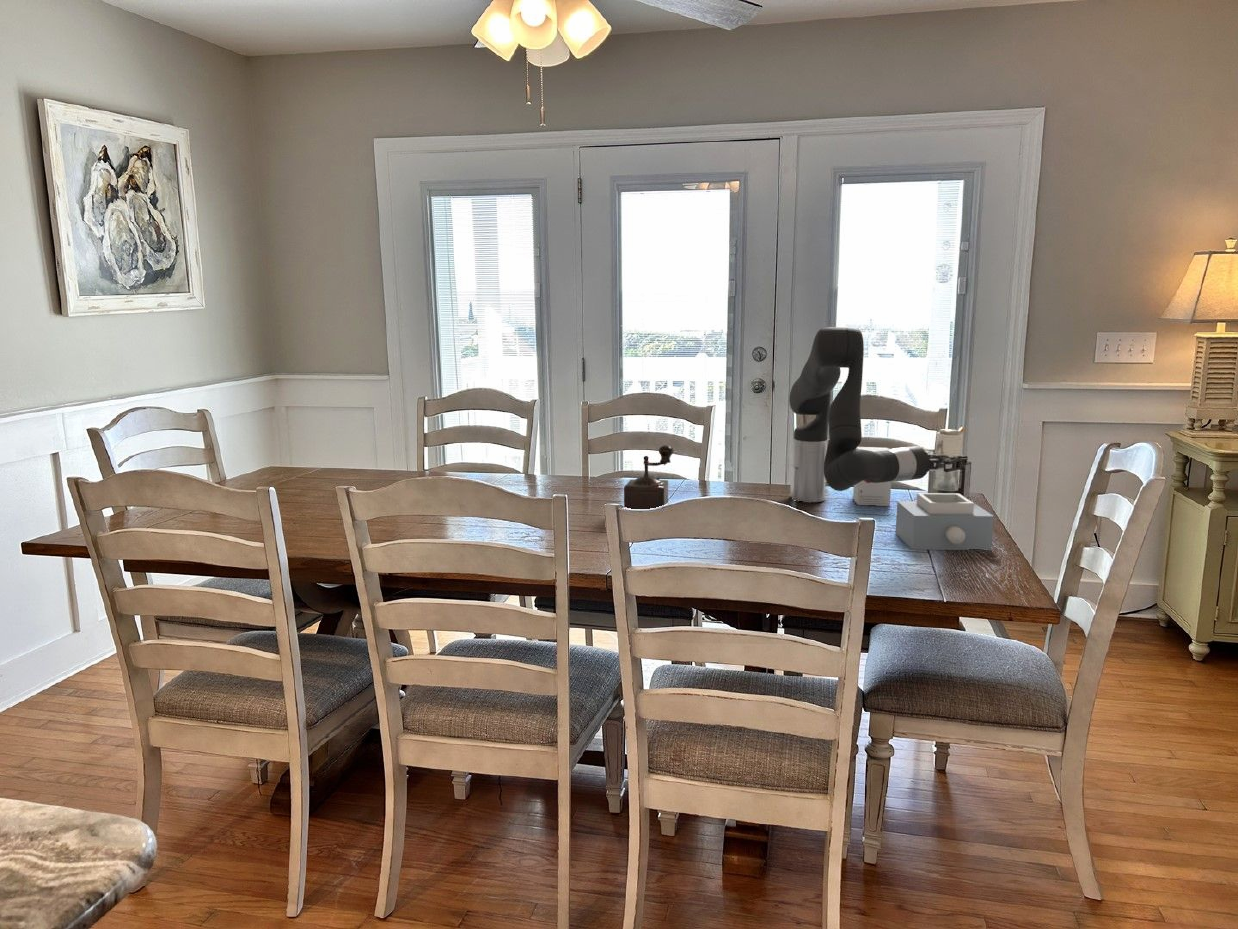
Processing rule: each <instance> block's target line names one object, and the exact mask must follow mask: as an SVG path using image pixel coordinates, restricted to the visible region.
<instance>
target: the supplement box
mask: <svg viewBox="0 0 1238 929" xmlns="http://www.w3.org/2000/svg"><path fill="white" fill-rule="evenodd" d="M856 449H863V450H869V451H873V452H875V451H884V450H889V449H890V448H889V447H874V446H871V447H870V446H867V447H866V446H858V447H857V448H856ZM856 449H855V450H856ZM891 489H892V481H889V482H881V483H871V482H868V481H867V480H864V481H861V482H859V483H857V484H856V485H854V486H853V491H852V498H853V500H854V503H857V504H859V505H858V506H869V505H876V506H875V507H890V506H891V493H892V492H891V491H892V490H891ZM857 504H856V505H857Z"/></svg>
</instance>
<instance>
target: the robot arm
mask: <svg viewBox="0 0 1238 929" xmlns="http://www.w3.org/2000/svg"><path fill="white" fill-rule="evenodd" d="M863 336H864V335H863V333H862V331H861V330H860V329H859V328H858V327H857V328H855V327H844V326H843V327H837V326H836V327H835V326H825V327H821V328H820V329H819V330H818V331H817V332H816V334H815V336H814V339H813V342H812V346H811V350H810V354H809V356H808V358H807V361H806V362H805V363H804V366H803V367H802V371H801V372H800V376H799V377H798V378H797V380H796V381H795V382H794V383H793V384H792V387H791V389H790V393H789V406H790V409H791V411H792V412H793V413H794V414H796V415H800V416H801V415H802V416H804V415H805V416H815V417H814V419H813V420H812V421H810V422H808V423H806V424H804V425H803V424H802V425H799V426H797V427H796V428H795V429H794V431H793V448H792V449H793V450H792V463H791V465H790V487H789V488H790V490H789V491H790V492H789V497H790V498H791V497H792V498H793V500H799V501H803V502H802V503H812V502H813V503H821V502H824V501H825V500H826V499H825V498H826V483H827V485H828V486H829V487H830V488H831V489H832V490H834V491H837V492H844V491H846V490H849V489H850V488H852V487H854V485H856V484H857V483H859V482H861V481H864V480H867V481H868V482H871V483H881V482H889V481H891V482H896V483H897V482H904V481H905V482H907V481H912V480H920V479H922V478H924V477H925V476H926V475H927V474H928V473H929V471H935V470H944V472H950V471H955V470H960V469H961V466H965V465H967V462H968V456H967V455H961V456H954V457H948V456H947V455H945V454H938V455H936V454H935V452H936V451H934V452H933V451H932V450H930V451H929V450H924V448H922V447H920V446H918V445H913V446H905V447H904V446H903V447H894V448H889V450H884V451H875V452H873V451H869V450H863V449H856V448H857V447H860V446H859V445H861V442H862V437H863V436H862V435H863V434H862V433H863V432H862V419H861V418H862V417H861V400H862V399H861V398H862V397H861V396H862V385H863V370H864V353H865V350H864V349H865V346H864V344H865V343H864V337H863ZM841 368H843V369H845V368H848V371H847V372H848V374H847V377H846V380H845V381H844V383H843V385H842V387H841V388H840V390H839V391H838V393H837V394H836V395H835V397H834V398H833V400H832V402H831V397H832V396H831V395H832V391H833V390H834V388H835V387H836V386H837V384H838V382H839V380H840V377H841V373H842V372H841V371H842V370H841ZM828 438H829V439H828ZM941 458H943V463H941ZM949 459H950V460H949ZM792 498H791V499H792ZM793 500H792V501H793ZM799 501H798V502H799Z"/></svg>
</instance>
